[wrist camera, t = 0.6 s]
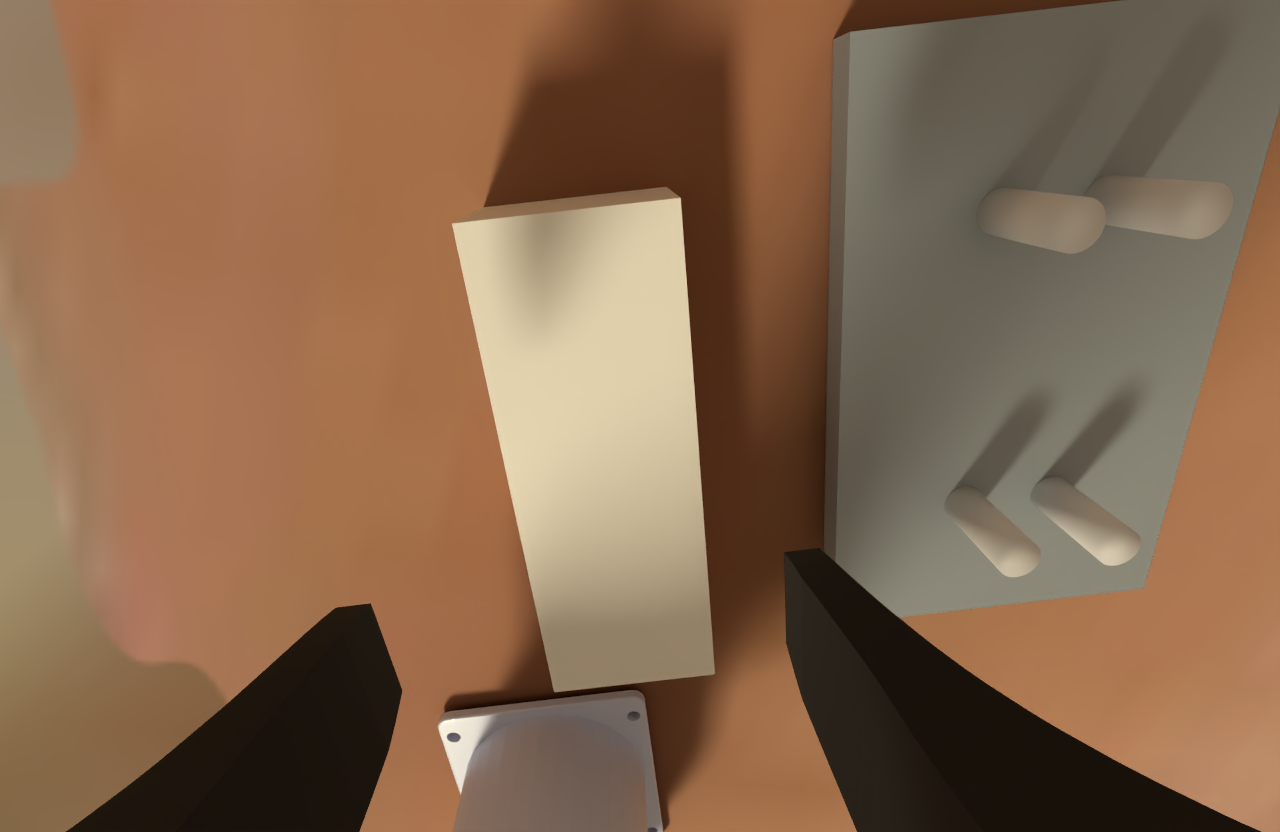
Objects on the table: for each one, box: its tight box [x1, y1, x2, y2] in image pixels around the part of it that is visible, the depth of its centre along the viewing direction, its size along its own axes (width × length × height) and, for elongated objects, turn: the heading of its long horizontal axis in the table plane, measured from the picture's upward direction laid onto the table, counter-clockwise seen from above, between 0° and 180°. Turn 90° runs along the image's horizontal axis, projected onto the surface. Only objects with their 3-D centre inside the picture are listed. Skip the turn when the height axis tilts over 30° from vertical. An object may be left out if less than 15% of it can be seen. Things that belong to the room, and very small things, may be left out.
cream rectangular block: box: [452, 187, 715, 692], centre depth 18 cm, size 14×5×4 cm, turn 6°
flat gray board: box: [824, 0, 1280, 617], centre depth 17 cm, size 18×11×4 cm, turn 6°
